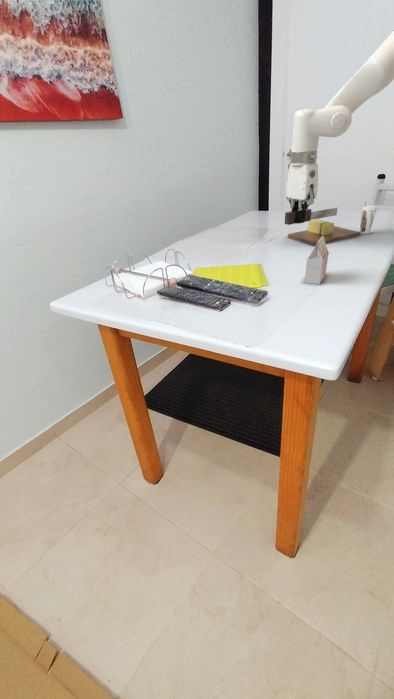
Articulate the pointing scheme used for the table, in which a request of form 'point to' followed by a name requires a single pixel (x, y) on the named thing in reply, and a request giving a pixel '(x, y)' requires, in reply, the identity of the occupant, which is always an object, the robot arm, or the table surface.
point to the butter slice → (327, 228)
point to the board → (314, 237)
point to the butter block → (316, 225)
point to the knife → (309, 215)
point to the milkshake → (367, 218)
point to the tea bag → (317, 263)
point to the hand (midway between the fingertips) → (297, 221)
